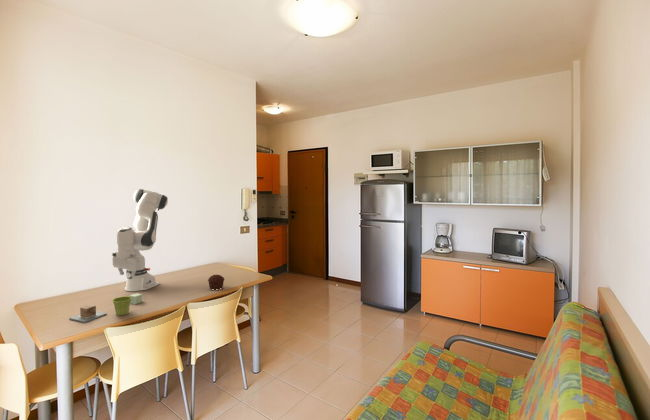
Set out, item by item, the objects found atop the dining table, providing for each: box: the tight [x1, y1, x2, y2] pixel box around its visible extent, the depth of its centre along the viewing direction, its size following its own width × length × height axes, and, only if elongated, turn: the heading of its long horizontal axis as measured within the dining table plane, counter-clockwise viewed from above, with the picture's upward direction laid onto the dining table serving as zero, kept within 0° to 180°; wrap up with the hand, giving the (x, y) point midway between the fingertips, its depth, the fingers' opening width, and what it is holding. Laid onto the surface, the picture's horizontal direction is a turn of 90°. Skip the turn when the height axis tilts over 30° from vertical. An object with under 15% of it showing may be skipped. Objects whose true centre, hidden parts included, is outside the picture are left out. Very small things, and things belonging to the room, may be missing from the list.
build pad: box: [69, 310, 108, 324], centre depth 173 cm, size 12×12×1 cm
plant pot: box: [112, 295, 132, 317], centre depth 178 cm, size 9×9×9 cm
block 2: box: [129, 292, 143, 305], centre depth 196 cm, size 5×5×5 cm
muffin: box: [207, 274, 225, 291], centre depth 226 cm, size 12×11×10 cm
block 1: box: [79, 304, 97, 318], centre depth 172 cm, size 5×5×5 cm
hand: (127, 275), depth 191 cm, fingers open, 8 cm apart
